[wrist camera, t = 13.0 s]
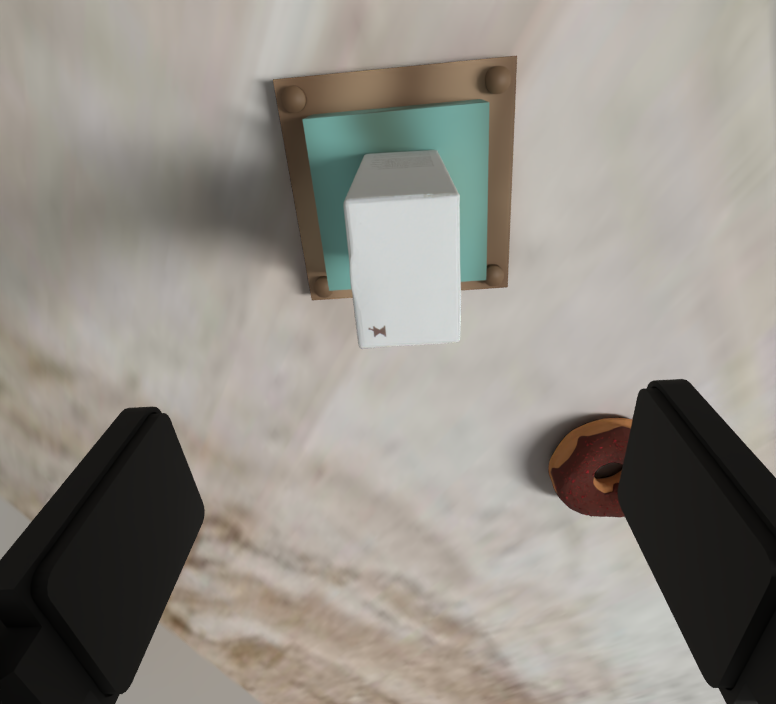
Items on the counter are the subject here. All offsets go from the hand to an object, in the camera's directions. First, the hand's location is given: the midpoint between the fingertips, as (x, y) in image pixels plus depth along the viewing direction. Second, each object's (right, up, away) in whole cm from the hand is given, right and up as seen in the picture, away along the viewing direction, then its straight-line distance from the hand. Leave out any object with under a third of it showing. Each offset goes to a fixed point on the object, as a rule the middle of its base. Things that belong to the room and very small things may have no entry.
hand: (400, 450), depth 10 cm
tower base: (+1, +13, +22) cm, 26 cm away
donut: (+19, -7, +34) cm, 40 cm away
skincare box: (+1, +11, +19) cm, 22 cm away
